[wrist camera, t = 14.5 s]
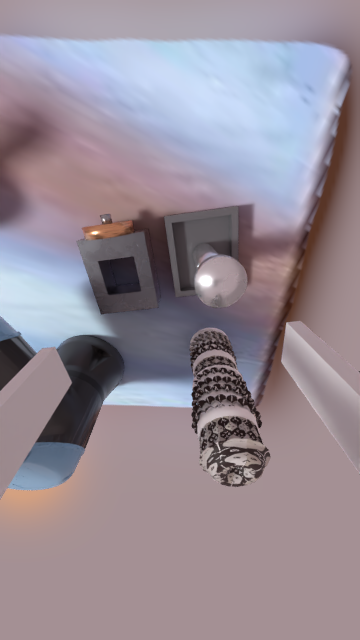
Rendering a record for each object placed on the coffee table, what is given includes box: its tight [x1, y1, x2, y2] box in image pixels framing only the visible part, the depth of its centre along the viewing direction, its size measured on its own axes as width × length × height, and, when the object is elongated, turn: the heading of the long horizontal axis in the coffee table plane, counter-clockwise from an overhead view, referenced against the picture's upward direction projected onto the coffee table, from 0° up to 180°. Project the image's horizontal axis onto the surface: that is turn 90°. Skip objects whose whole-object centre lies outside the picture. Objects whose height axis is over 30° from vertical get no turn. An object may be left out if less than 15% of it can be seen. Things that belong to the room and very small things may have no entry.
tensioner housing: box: [77, 214, 161, 314], centre depth 33 cm, size 15×10×8 cm
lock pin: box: [193, 243, 247, 308], centre depth 28 cm, size 5×5×16 cm
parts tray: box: [164, 206, 238, 297], centre depth 35 cm, size 13×11×2 cm
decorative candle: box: [190, 327, 270, 487], centre depth 34 cm, size 9×9×25 cm
